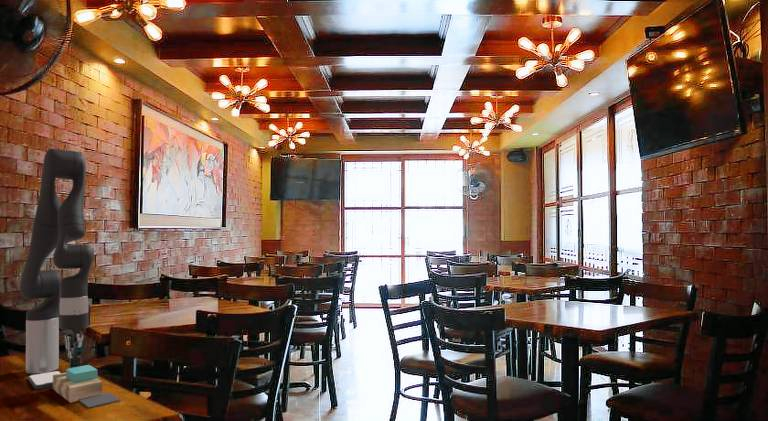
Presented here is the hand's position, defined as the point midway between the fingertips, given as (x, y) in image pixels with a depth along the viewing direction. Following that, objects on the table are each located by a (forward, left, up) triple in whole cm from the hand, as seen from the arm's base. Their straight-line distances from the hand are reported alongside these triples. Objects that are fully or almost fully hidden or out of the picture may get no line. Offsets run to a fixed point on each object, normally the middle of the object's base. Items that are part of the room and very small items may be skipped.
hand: (74, 370), depth 158 cm
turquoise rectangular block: (+8, 0, -1) cm, 8 cm away
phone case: (-13, -4, -6) cm, 14 cm away
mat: (+20, +1, -5) cm, 21 cm away
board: (+7, -1, -5) cm, 8 cm away
